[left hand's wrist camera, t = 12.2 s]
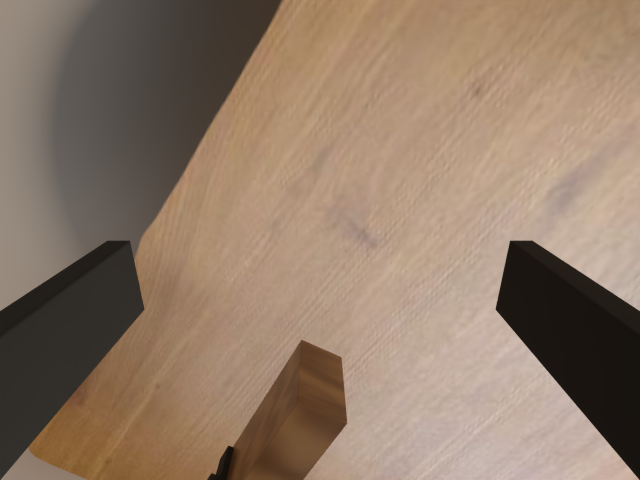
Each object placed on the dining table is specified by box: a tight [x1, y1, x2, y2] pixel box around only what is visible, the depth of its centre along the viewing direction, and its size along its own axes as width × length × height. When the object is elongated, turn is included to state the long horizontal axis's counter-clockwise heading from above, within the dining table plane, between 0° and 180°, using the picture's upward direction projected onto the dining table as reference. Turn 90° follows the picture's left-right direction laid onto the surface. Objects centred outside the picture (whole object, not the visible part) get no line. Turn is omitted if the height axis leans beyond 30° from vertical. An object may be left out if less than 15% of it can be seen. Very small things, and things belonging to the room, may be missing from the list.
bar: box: [226, 340, 347, 480], centre depth 39 cm, size 24×5×9 cm, turn 151°
